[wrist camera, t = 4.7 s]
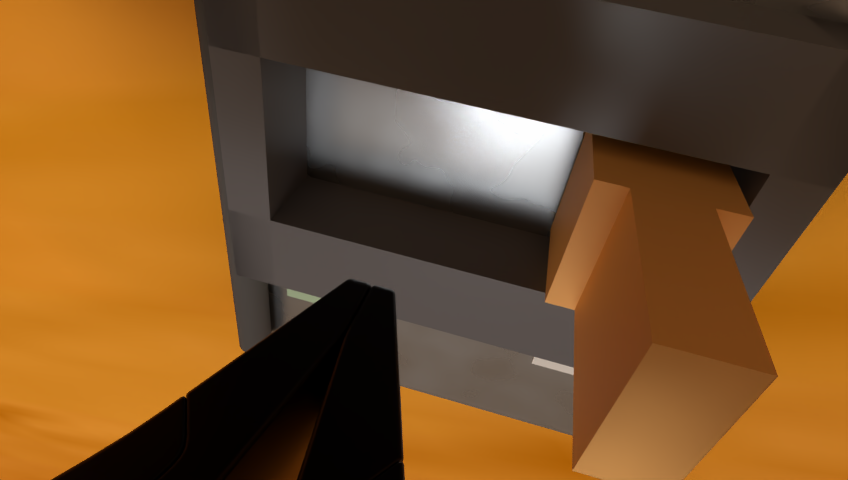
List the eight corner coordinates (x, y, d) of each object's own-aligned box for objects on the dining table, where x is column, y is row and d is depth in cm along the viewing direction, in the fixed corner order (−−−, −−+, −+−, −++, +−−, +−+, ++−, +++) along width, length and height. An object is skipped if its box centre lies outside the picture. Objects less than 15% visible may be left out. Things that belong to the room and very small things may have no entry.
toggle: (720, 145, 12) (834, 391, 7) (659, 256, 14) (707, 510, 9) (591, 116, 12) (599, 328, 7) (550, 228, 14) (532, 458, 9)
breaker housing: (864, 26, 10) (927, 67, 8) (632, 387, 18) (639, 450, 16) (254, -94, 12) (192, -84, 10) (276, 288, 19) (244, 336, 17)
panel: (1252, -455, 7) (1352, -499, 6) (633, 426, 21) (635, 453, 20) (179, -566, 9) (132, -614, 8) (260, 320, 22) (246, 341, 22)
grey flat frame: (1206, -431, 7) (1307, -475, 6) (619, 432, 19) (621, 461, 18) (152, -543, 8) (97, -592, 7) (249, 326, 21) (233, 348, 20)
